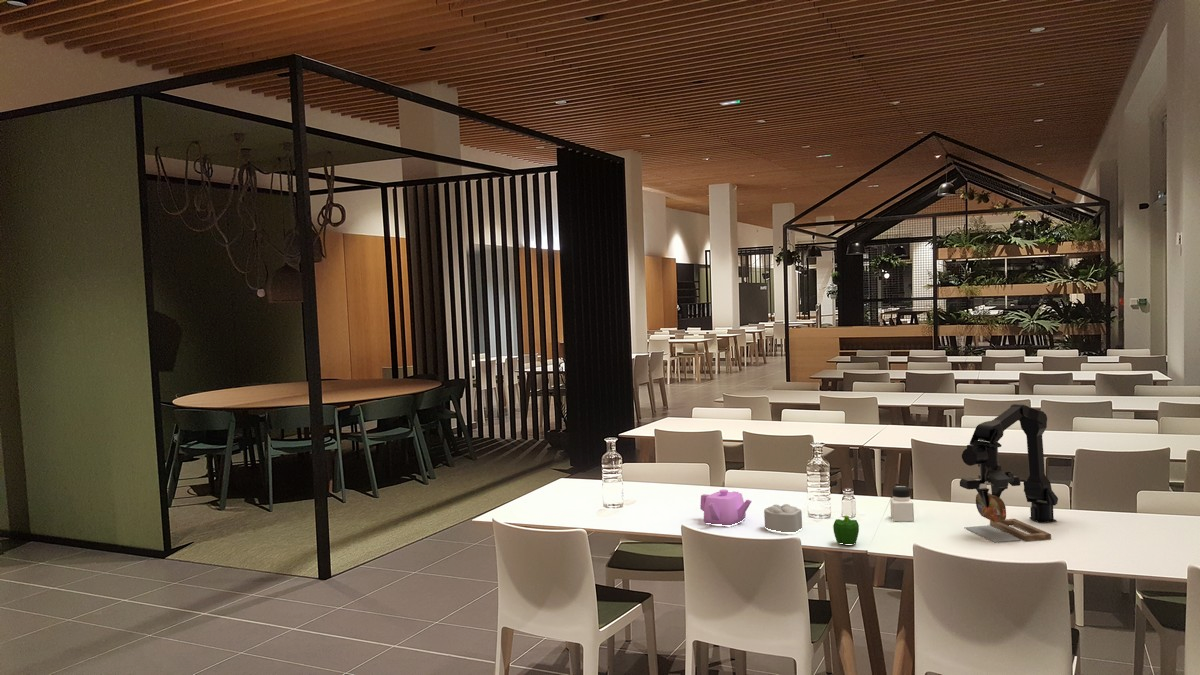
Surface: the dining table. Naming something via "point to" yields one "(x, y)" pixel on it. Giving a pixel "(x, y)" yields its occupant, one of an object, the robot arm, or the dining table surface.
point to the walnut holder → (1035, 532)
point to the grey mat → (992, 534)
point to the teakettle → (724, 507)
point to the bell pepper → (846, 530)
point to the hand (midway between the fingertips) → (990, 507)
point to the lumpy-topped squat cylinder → (783, 518)
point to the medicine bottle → (901, 504)
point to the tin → (992, 508)
